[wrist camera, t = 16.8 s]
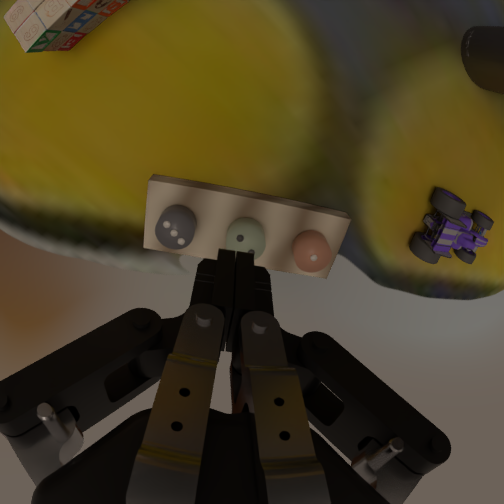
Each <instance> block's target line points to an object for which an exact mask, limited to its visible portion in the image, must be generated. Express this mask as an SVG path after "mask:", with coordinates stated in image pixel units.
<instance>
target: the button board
mask: <svg viewBox="0 0 504 504" xmlns="http://www.w3.org/2000/svg"><path fill="white" fill-rule="evenodd" d="M173 205H181V206H184V207H186V208H188V209H189V210H191V211H192V212H193V214H194V215H195V218H196V222H197V224H196V229H195V233H194V237H193V240H192V242H191V243H190V244H189V245H188V246H187V247H185V248H183V249H178V250H174V249H169V248H167V247H165V246H163V245H162V244H161V243H160V242H159V241H158V239H157V237H156V235H155V226H156V224H157V222H158V220H159V217H160V215H161V213H162V212H163V211H164V210H165V209H166V208H167V207H170V206H173ZM240 218H252V219H254V220H256V221H258V222H259V223H260V224H261V225H262V227H263V229H264V235H265V242H266V247H265V250H264V252H263V254H262V255H261V256H260V257H259V258H257V259H255V260H254V265H255V266H262V267H265V268H266V269H270V270H276V271H283V272H289V273H295V274H301V275H307V276H313V277H319V278H327V276H328V274H329V272H330V269H331V267H332V265H333V262H334V260H335V258H336V255H337V253H338V251H339V248H340V246H341V243H342V241H343V238H344V236H345V234H346V231H347V229H348V226H349V224H350V221H351V219H350V217H349V216H348V214H347V213H346V212H342V211H338V210H334V209H329V208H325V207H321V206H317V205H312V204H308V203H303V202H299V201H294V200H289V199H285V198H280V197H275V196H271V195H266V194H261V193H256V192H251V191H246V190H241V189H235V188H230V187H225V186H219V185H214V184H208V183H203V182H197V181H191V180H185V179H179V178H173V177H167V176H161V175H154V174H153V175H152V176H151V178H150V179H149V182H148V193H147V204H146V217H145V232H144V248H148V249H154V250H160V251H165V252H171V253H177V254H182V255H189V256H194V257H199V258H208V259H215V260H217V256H218V249H219V248H221V249H226V235H227V229H228V227H229V225H230V224H231V223H232V222H233V221H235V220H237V219H240ZM311 230H312V231H318V232H320V233H322V234H323V235H324V236H325V238H326V240H327V242H328V244H329V247H330V249H331V252H332V258H331V261H330V263H329V264H328V265H327V266H326V267H325V268H324V269H322V270H320V271H318V272H313V273H309V272H305V271H302V270H301V269H299V268H298V267H297V265H296V263H295V259H294V255H293V251H292V244H293V241H294V240H295V238H296V237H297V236H298V235H299V234H301V233H303V232H305V231H311Z"/></svg>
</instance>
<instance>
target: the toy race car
mask: <svg viewBox="0 0 504 504" xmlns="http://www.w3.org/2000/svg"><path fill="white" fill-rule="evenodd" d="M430 202H431V204H432V205H433V206H434V207H435V208H436V209H437V211H436V213H435V215H430V214H427V215H426V217H425V219H424V221H423V222H424V223H425V224H426V225H427V226H428V230H427V232H426V234H425V233H422V232H416V234H415V235H414V238H413V240H412V242H411V244H410V246H409V248H410V250H411V251H412V253H413V254H414V255H416V256H417V257H418V258H420V259H421V260H423V261H425V262H428V263H431V264H436V263H437V262H438V260H439V258H440V256H444V257H447V258H451V257H452V256H451V254H450V253H449V252H448V251H449V250H450V248H451V247H452V248H454V249H455V251H454V253H455V254H456V256H457V257H458V258H460V259H461V260H462V261H464V262H466V263H468V264H472V263H473V261H474V259H475V257H476V254H475V252H476V250H477V248H478V247H483V246H486V244H487V242H488V239H486V238H484V235H485V233H486V231H487V230H490V229H491V227H492V225H493V223H494V222H493V220H492V219H491V218H490V217H488V216H487V215H485V214H484V213H482V212H480V211H478V210H475V211H474V213H473V215H472V213H469V212H467V211H464V209H465V207H466V203H465V202H464V201H463V200H462V199H460V198H459V197H458V196H456V195H454V194H453V193H451V192H449V191H447V190H445V189H442V188H439V187H437V188H436V189H435V192H434V194H433V196H432V199H431V201H430ZM437 212H439V213H440V214H441V215H440V217H439V216H436V214H437ZM471 215H472V217H471ZM470 217H471V218H472V219H471V218H470ZM473 221H474V222H475V223H477V226H478V225H479V226H478V228H477V226H476V228H477V231H475V230H476V228H475V230H473V229H471V227H472V225H473ZM480 227H481V228H482V229H481V228H480ZM429 228H430V229H431V230H432V232H433V233H432V235H428V234H427V233H428V231H429ZM479 228H480V230H481V231H479V233H477V232H478V230H479ZM435 235H436V237H435V238H434V236H435Z"/></svg>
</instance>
